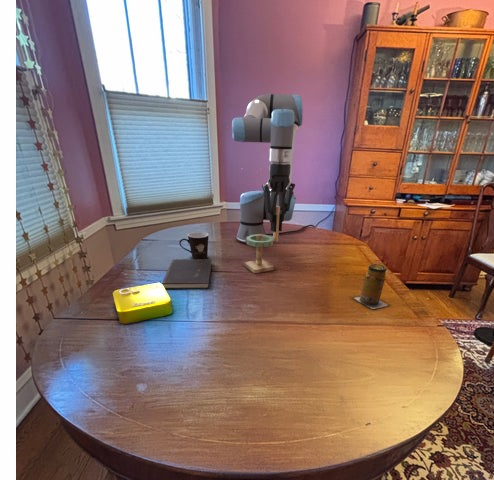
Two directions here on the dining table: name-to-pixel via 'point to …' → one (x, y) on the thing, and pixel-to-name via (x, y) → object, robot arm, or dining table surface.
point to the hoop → (267, 239)
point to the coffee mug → (197, 244)
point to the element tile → (142, 303)
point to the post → (259, 260)
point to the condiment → (373, 287)
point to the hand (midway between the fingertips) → (276, 230)
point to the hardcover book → (188, 274)
